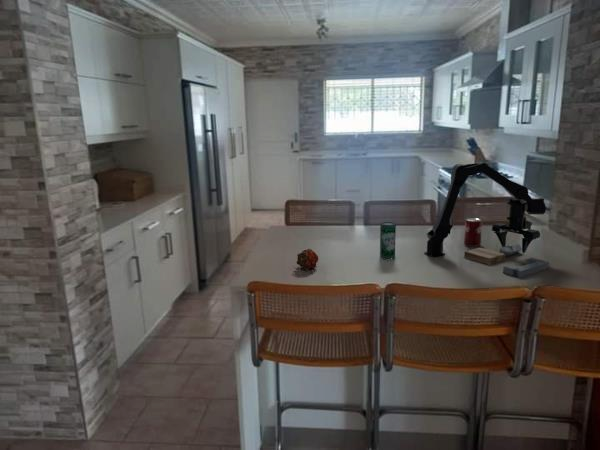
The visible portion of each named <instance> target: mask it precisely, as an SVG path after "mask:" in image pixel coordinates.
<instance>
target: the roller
mask: <svg viewBox="0 0 600 450" xmlns="http://www.w3.org/2000/svg"><path fill="white" fill-rule="evenodd" d="M521 251H522V245H520V244H519V243H512V244H509V245H505V247H502V246H501V248H500V249H499V253H503V254H505V257H508V256H511V255H515V254H517V253H518V254H519V253H521Z"/></svg>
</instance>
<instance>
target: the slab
mask: <svg viewBox="0 0 600 450" xmlns="http://www.w3.org/2000/svg"><path fill="white" fill-rule="evenodd" d="M463 255H464V256H463V257H464V258H466V259H469V260H473V261H476V262H479V263H482V264H486V265H492V264H495V263H499V262H502V261H505V258H506V256H505V254H503V253H500V251H495V250H492V249H488V248H483V247H476V248H472V249H469V250H465V251H464V254H463Z"/></svg>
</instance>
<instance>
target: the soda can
mask: <svg viewBox="0 0 600 450" xmlns="http://www.w3.org/2000/svg"><path fill="white" fill-rule="evenodd" d="M464 221H465V222H464V234H463V235H464V240H463V244H464V245H465V246H467V247H473V248H475V247H476V248H478V247H480V246H481V244H482V231H483V230H482V229H483V220H482V219H481V218H478V217H469V218H466V219H465V220H464Z"/></svg>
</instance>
